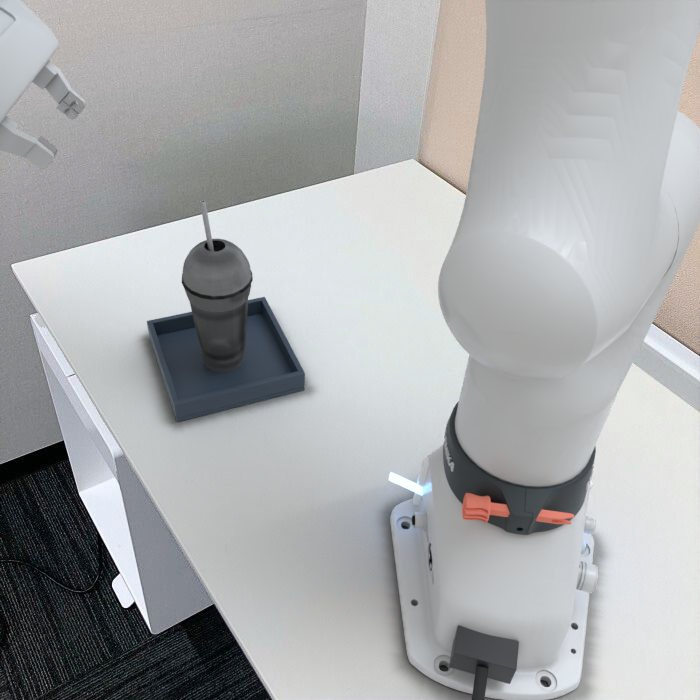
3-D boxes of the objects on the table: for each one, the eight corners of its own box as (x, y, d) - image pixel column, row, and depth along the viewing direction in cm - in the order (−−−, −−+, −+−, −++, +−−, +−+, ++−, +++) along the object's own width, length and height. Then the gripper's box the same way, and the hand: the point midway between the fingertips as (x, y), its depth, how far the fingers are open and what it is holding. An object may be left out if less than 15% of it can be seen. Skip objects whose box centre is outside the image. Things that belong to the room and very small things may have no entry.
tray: (304, 390, 82) (305, 373, 80) (176, 422, 77) (174, 405, 75) (265, 313, 91) (264, 296, 89) (149, 337, 87) (146, 320, 85)
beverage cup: (224, 391, 80) (211, 235, 67) (177, 361, 83) (156, 206, 70) (269, 356, 84) (265, 204, 71) (223, 329, 88) (211, 178, 74)
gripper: (-127, 32, 49) (53, 170, 56) (-18, -50, 65) (113, 67, 72) (-168, 93, 52) (8, 218, 59) (-54, 1, 67) (75, 109, 74)
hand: (66, 135), depth 65 cm, fingers open, 8 cm apart
